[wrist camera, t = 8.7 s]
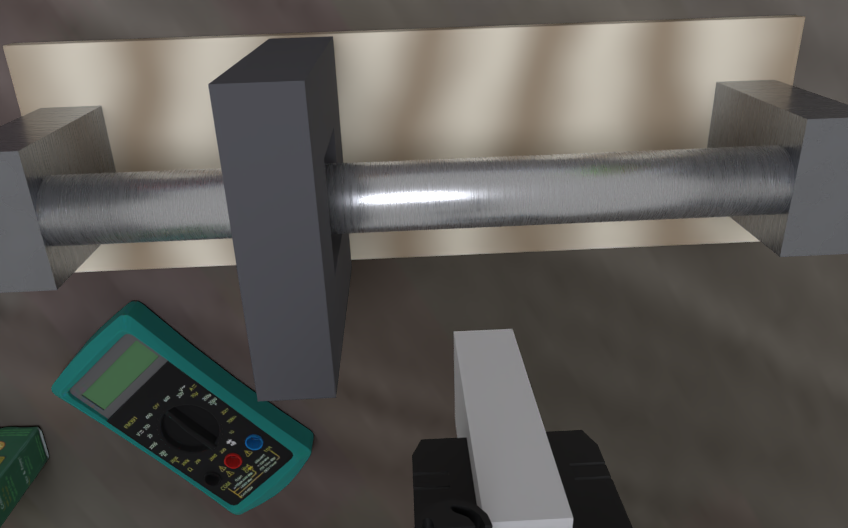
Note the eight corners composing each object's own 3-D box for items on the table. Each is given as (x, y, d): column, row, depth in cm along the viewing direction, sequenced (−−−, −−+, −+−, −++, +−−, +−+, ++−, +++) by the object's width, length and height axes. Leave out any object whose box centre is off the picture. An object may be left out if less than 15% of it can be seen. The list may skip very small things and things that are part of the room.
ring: (332, 36, 33) (304, 80, 22) (351, 267, 38) (336, 397, 27) (269, 38, 33) (208, 84, 22) (296, 269, 38) (257, 401, 27)
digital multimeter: (250, 497, 47) (241, 530, 44) (61, 367, 42) (39, 395, 40) (323, 433, 45) (319, 464, 43) (135, 290, 40) (117, 314, 38)
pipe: (774, 79, 35) (886, 117, 27) (754, 191, 38) (851, 256, 30) (40, 108, 34) (-66, 156, 26) (69, 220, 37) (-19, 296, 29)
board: (794, 15, 35) (805, 16, 34) (754, 234, 40) (762, 241, 39) (12, 43, 34) (2, 45, 33) (71, 265, 39) (64, 272, 38)
